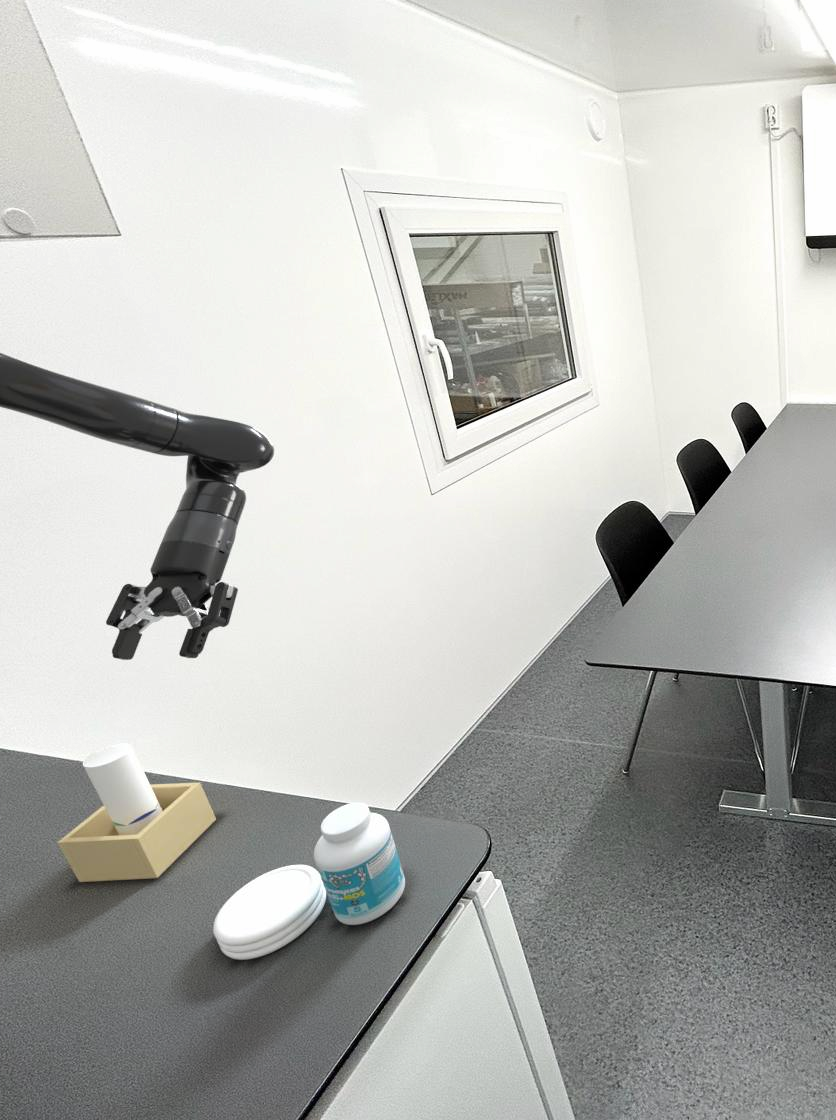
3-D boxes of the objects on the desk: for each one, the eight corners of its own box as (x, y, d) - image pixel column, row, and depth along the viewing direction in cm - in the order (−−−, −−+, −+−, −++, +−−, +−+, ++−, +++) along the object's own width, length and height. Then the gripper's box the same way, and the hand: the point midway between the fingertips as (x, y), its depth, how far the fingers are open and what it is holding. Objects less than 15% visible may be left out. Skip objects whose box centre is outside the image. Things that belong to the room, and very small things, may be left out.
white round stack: (251, 977, 69) (241, 956, 67) (203, 939, 72) (193, 918, 71) (345, 901, 77) (338, 880, 76) (298, 871, 81) (290, 851, 80)
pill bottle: (320, 920, 75) (287, 836, 70) (373, 868, 81) (347, 788, 77) (371, 935, 73) (341, 850, 68) (421, 880, 80) (397, 799, 75)
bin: (79, 882, 79) (56, 842, 77) (146, 822, 88) (128, 785, 86) (157, 878, 80) (137, 838, 77) (216, 819, 89) (200, 782, 86)
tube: (140, 835, 85) (96, 747, 80) (179, 826, 86) (139, 739, 81) (121, 860, 81) (73, 770, 76) (162, 851, 83) (119, 762, 77)
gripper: (121, 539, 87) (71, 654, 81) (227, 537, 88) (186, 650, 82) (167, 557, 94) (125, 665, 88) (266, 555, 95) (231, 661, 89)
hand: (155, 658), depth 85 cm, fingers open, 8 cm apart
